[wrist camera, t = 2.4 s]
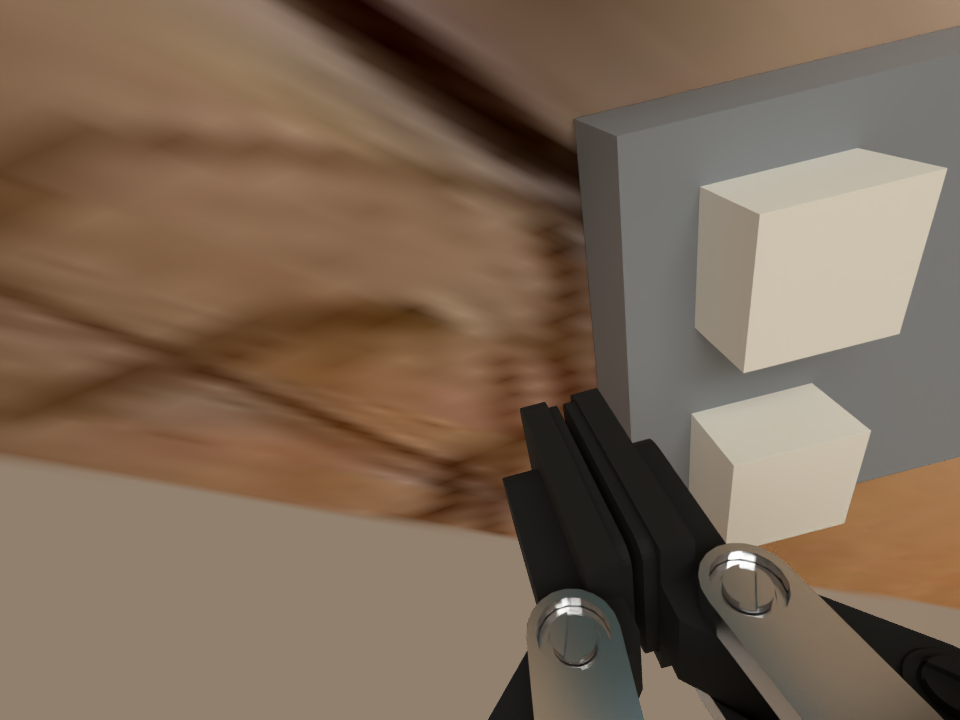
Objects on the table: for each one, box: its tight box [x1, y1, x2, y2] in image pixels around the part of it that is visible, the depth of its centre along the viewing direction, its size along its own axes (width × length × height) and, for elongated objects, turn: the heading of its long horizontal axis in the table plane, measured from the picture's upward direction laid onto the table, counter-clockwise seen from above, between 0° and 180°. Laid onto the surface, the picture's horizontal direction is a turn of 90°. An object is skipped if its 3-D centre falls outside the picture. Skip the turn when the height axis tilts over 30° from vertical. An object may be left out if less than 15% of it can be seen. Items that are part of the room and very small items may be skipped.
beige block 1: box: [695, 148, 948, 373], centre depth 16 cm, size 5×5×3 cm
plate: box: [574, 26, 960, 490], centre depth 21 cm, size 16×18×4 cm
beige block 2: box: [689, 383, 871, 546], centre depth 21 cm, size 5×5×3 cm
